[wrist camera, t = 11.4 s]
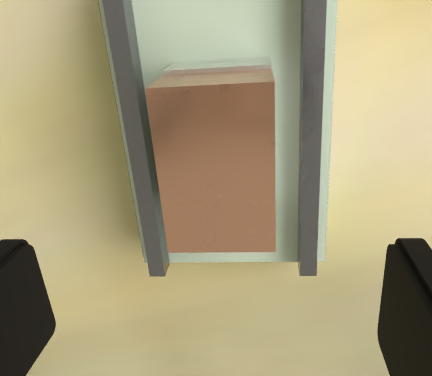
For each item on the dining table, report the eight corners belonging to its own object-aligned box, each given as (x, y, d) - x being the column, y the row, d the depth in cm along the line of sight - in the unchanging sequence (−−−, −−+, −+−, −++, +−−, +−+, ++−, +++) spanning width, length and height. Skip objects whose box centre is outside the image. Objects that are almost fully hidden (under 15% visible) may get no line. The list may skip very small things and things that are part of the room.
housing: (269, 56, 21) (274, 75, 15) (270, 194, 24) (275, 255, 18) (175, 62, 21) (144, 83, 15) (189, 196, 24) (168, 256, 19)
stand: (318, 237, 28) (328, 275, 24) (154, 239, 30) (138, 276, 25) (329, -56, 21) (347, -71, 17) (111, -35, 22) (78, -44, 18)
